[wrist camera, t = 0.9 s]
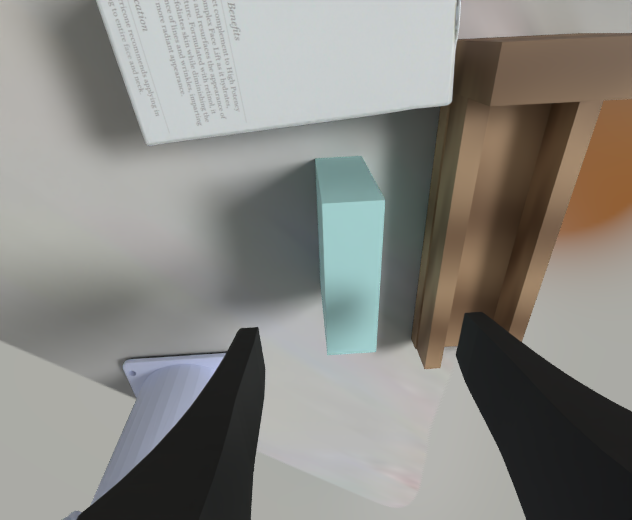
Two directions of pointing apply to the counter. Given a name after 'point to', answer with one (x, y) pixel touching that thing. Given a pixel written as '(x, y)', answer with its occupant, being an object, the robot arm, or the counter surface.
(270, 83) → the skincare box
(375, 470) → the counter surface
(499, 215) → the track
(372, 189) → the door panel
